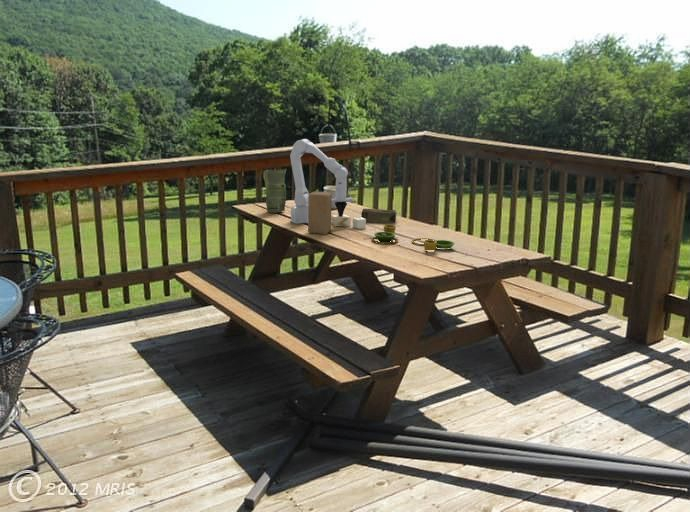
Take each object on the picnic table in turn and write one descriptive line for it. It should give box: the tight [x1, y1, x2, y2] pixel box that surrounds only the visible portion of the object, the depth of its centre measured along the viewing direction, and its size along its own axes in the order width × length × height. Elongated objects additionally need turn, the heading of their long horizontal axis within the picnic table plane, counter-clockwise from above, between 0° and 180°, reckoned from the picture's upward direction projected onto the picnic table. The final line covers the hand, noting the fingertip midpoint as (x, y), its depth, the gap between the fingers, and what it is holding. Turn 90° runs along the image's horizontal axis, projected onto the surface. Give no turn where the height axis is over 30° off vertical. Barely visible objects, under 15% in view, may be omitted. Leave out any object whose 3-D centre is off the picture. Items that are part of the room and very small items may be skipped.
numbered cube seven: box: [352, 216, 367, 229], centre depth 349 cm, size 5×5×5 cm
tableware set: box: [364, 224, 455, 251], centre depth 318 cm, size 41×28×6 cm
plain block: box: [331, 213, 352, 227], centre depth 355 cm, size 8×8×5 cm
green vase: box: [262, 168, 288, 214], centre depth 383 cm, size 11×12×25 cm
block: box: [307, 190, 333, 235], centre depth 335 cm, size 10×10×20 cm
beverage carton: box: [360, 208, 397, 224], centre depth 367 cm, size 8×19×7 cm, turn 84°
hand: (340, 215), depth 354 cm, fingers closed
